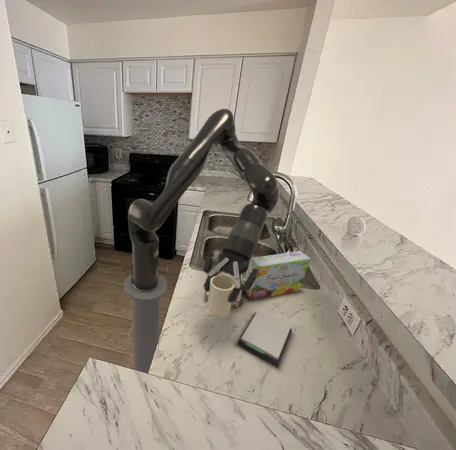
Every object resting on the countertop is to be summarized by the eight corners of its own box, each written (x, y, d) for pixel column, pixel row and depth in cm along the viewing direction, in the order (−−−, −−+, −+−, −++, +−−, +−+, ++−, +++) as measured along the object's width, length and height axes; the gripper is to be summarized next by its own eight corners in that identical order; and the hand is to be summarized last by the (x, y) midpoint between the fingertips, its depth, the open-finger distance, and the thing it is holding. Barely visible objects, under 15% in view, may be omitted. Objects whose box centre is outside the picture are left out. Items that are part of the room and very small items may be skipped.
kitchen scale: (237, 345, 73) (238, 338, 72) (254, 316, 83) (256, 309, 82) (277, 367, 67) (279, 360, 66) (290, 333, 77) (293, 327, 76)
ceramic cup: (202, 309, 70) (206, 283, 66) (213, 297, 74) (217, 272, 70) (223, 320, 66) (228, 293, 62) (233, 307, 71) (238, 281, 67)
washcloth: (204, 301, 89) (205, 295, 87) (211, 272, 104) (212, 266, 103) (240, 310, 85) (241, 303, 84) (241, 278, 101) (242, 272, 99)
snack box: (250, 302, 89) (258, 266, 82) (241, 291, 94) (248, 257, 87) (300, 291, 94) (311, 257, 88) (289, 282, 99) (299, 249, 92)
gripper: (270, 253, 69) (246, 311, 66) (221, 237, 77) (198, 287, 74) (268, 244, 63) (241, 307, 60) (215, 227, 71) (189, 281, 68)
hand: (217, 296), depth 67 cm, fingers closed on ceramic cup, 6 cm apart
